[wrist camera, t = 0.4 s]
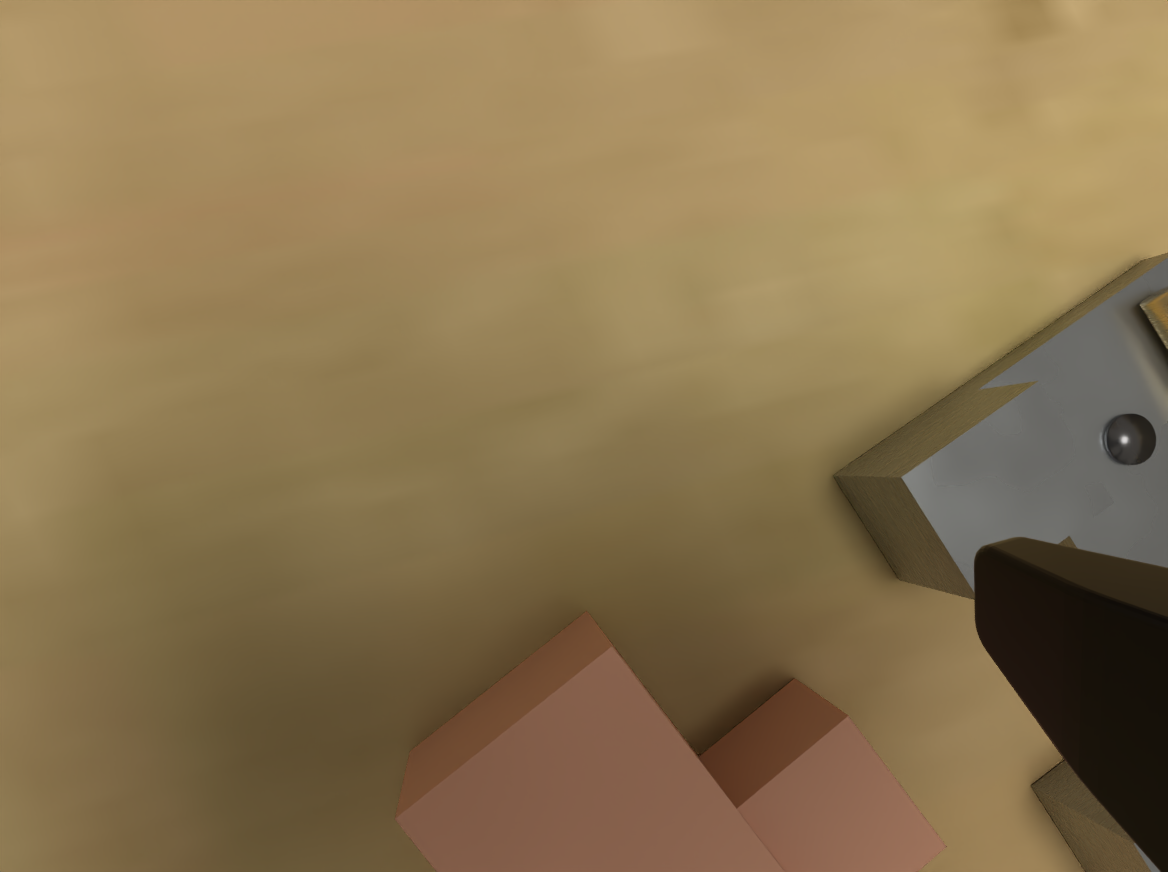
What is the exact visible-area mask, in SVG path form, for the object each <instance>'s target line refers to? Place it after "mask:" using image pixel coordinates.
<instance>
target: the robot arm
mask: <svg viewBox="0 0 1168 872" xmlns="http://www.w3.org/2000/svg"><path fill="white" fill-rule="evenodd" d="M974 599H975V624H976V629H977V633H978V635H979V638H980V640H981V642H982V644H983V646H984V648H985V649H986V651H987V652H988V654H989V655H990V656H991V658H992V659H993V661H994V662H995V663H996V665H997V666H998V668H999V669H1000V670H1001V672H1002V673H1003V674H1004V676H1005V677H1006V679H1007V680H1008V681H1009V683H1010V684H1011V686H1012V687H1013V688H1014V690H1015V691H1016V693H1017V694H1018V695H1019V697H1020V698H1021V700H1022V701H1023V702H1024V704H1025V705H1026V707H1027V708H1028V709H1029V711H1030V712H1031V714H1032V715H1033V716H1034V718H1035V719H1036V721H1037V722H1038V723H1039V725H1040V726H1041V728H1042V729H1043V730H1044V732H1045V733H1046V735H1047V736H1048V737H1049V739H1050V740H1051V742H1052V743H1053V744H1054V746H1055V747H1056V749H1057V750H1058V751H1059V753H1060V754H1061V755H1062V757H1063V758H1064V759H1065V761H1066V762H1067V763H1068V765H1069V766H1070V767H1071V769H1072V770H1073V771H1074V773H1075V774H1076V775H1077V776H1078V778H1079V779H1080V780H1081V781H1082V782H1083V784H1084V785H1085V786H1086V787H1087V788H1088V790H1089V791H1090V792H1091V793H1092V794H1093V796H1094V797H1095V798H1096V799H1097V800H1098V801H1099V803H1100V804H1101V805H1102V806H1103V807H1104V808H1105V809H1106V810H1107V812H1108V813H1109V814H1110V815H1111V816H1112V817H1113V818H1114V820H1115V821H1116V822H1117V823H1118V824H1119V825H1120V826H1121V828H1122V829H1123V830H1124V831H1125V832H1126V833H1127V834H1128V835H1129V837H1130V838H1131V839H1132V840H1133V841H1134V842H1135V843H1136V845H1137V846H1138V847H1139V848H1140V849H1141V850H1142V851H1143V853H1144V854H1145V855H1146V856H1147V857H1148V858H1149V859H1150V860H1151V862H1152V863H1153V864H1154V865H1155V866H1156V867H1157V868H1158V870H1159V871H1160V872H1168V568H1167V567H1162V566H1158V565H1153V564H1148V563H1143V562H1139V561H1134V560H1129V559H1125V558H1120V557H1115V556H1111V555H1106V554H1101V553H1097V552H1092V551H1087V550H1083V549H1078V548H1073V547H1069V546H1064V545H1059V544H1055V543H1050V542H1045V541H1040V540H1036V539H1031V538H1026V537H1013V538H1009V539H1005V540H1002V541H998V542H995V543H991V544H987V545H984V546H982V547H981V548H980V549H979V550H978V551H977V552H976V555H975V558H974Z"/></svg>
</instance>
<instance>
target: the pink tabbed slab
mask: <svg viewBox="0 0 1168 872" xmlns="http://www.w3.org/2000/svg"><path fill="white" fill-rule="evenodd" d="M395 820H396V821H397V822H398V824H399V825H400V826H401V828H402V829H403V830H404V831H405V833H406V834H407V835H408V836H409V838H410V839H411V840H412V841H413V843H414V844H415V845H416V846H417V848H418V849H419V850H420V852H421V853H422V854H423V855H424V857H425V858H426V859H427V860H428V862H429V863H430V864H431V865H432V867H433V868H434V869H435V871H436V872H918V871H919V870H920V869H922V868H923V867H924V866H925V865H926V864H927V863H928V862H930V861H931V860H932V859H933V858H934V857H935V856H937V855H938V854H939V853H940V852H941V851H942V850H944V849H945V848H946V847H947V846H946V845H945V844H944V842H943V841H942V840H941V838H940V837H939V836H938V834H937V833H936V832H935V830H934V829H933V828H932V826H931V825H930V824H929V822H928V821H927V820H926V818H925V817H924V816H923V814H922V813H921V812H920V810H919V809H918V808H917V806H916V805H915V804H914V802H913V801H912V800H911V798H910V797H909V796H908V794H907V793H906V792H905V790H904V789H903V788H902V786H901V785H900V784H899V782H898V781H897V780H896V778H895V777H894V776H893V774H892V773H891V772H890V770H889V769H888V768H887V766H886V765H885V764H884V762H883V761H882V760H881V758H880V757H879V756H878V754H877V753H876V752H875V750H874V749H873V748H872V746H871V745H870V744H869V742H868V741H867V740H866V738H865V737H864V736H863V735H862V733H861V732H860V731H859V729H858V728H857V727H856V725H855V724H854V723H853V721H852V720H851V719H850V717H849V716H848V715H847V714H845V713H844V712H842V711H841V710H840V709H838V708H837V707H835V706H834V705H832V704H831V703H830V702H828V701H827V700H825V699H824V698H822V697H821V696H820V695H818V694H817V693H815V692H814V691H812V690H811V689H810V688H808V687H807V686H805V685H804V684H802V683H801V682H800V681H798V680H797V679H795V678H794V679H793V680H792V681H791V682H789V683H788V684H787V685H786V686H784V687H783V688H782V689H781V690H780V691H778V692H777V693H776V694H775V695H774V696H772V697H771V698H770V699H769V700H767V701H766V702H765V703H764V704H763V705H761V706H760V707H759V708H758V709H756V710H755V711H754V712H753V713H752V714H750V715H749V716H748V717H747V718H745V719H744V720H743V721H742V722H741V723H739V724H738V725H737V726H736V727H735V728H733V729H732V730H731V731H730V732H728V733H727V734H726V735H725V736H724V737H722V738H721V739H720V740H719V741H717V742H716V743H715V744H714V745H713V746H711V747H710V748H709V749H708V750H707V751H705V752H704V753H703V754H702V755H700V756H699V757H698V756H697V754H696V753H695V752H694V750H693V749H692V748H691V746H690V745H689V744H688V743H687V741H686V740H685V739H684V737H683V736H682V735H681V733H680V732H679V731H678V729H677V728H676V727H675V726H674V724H673V723H672V722H671V720H670V719H669V718H668V716H667V715H666V714H665V712H664V711H663V710H662V708H661V707H660V706H659V705H658V703H657V702H656V701H655V699H654V698H653V697H652V695H651V694H650V693H649V691H648V690H647V689H646V688H645V686H644V685H643V684H642V682H641V681H640V680H639V678H638V677H637V676H636V674H635V673H634V672H633V671H632V669H631V668H630V667H629V665H628V664H627V663H626V661H625V660H624V659H623V657H622V656H621V655H620V654H619V652H618V651H617V650H616V648H615V647H614V646H613V644H612V643H611V642H610V640H609V639H608V638H607V637H606V635H605V634H604V633H603V631H602V630H601V629H600V627H599V626H598V625H597V623H596V622H595V621H594V619H593V618H592V617H591V616H590V614H589V613H588V612H587V611H586V612H585V613H583V614H582V615H581V616H580V617H578V618H577V619H576V620H575V621H573V622H572V623H571V624H570V625H568V626H567V627H566V628H565V629H563V630H562V631H561V632H559V633H558V634H557V635H556V636H554V637H553V638H552V639H551V640H549V641H548V642H547V643H546V644H544V645H543V646H542V647H541V648H539V649H538V650H537V651H536V652H534V653H533V654H532V655H531V656H529V657H528V658H527V659H525V660H524V661H523V662H522V663H520V664H519V665H518V666H517V667H515V668H514V669H513V670H512V671H510V672H509V673H508V674H507V675H505V676H504V677H503V678H502V679H500V680H499V681H498V682H497V683H495V684H494V685H493V686H491V687H490V688H489V689H488V690H486V691H485V692H484V693H483V694H481V695H480V696H479V697H478V698H476V699H475V700H474V701H473V702H471V703H470V704H469V705H468V706H466V707H465V708H464V709H463V710H461V711H460V712H459V713H457V714H456V715H455V716H454V717H452V718H451V719H450V720H449V721H447V722H446V723H445V724H444V725H442V726H441V727H440V728H439V729H437V730H436V731H435V732H434V733H432V734H431V735H430V736H429V737H427V738H426V739H425V740H423V741H422V742H421V743H420V744H418V745H417V746H416V747H415V748H413V749H412V750H411V751H410V753H409V757H408V762H407V766H406V771H405V775H404V780H403V784H402V789H401V793H400V798H399V802H398V807H397V811H396V816H395Z"/></svg>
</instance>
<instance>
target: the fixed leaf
mask: <svg viewBox="0 0 1168 872" xmlns="http://www.w3.org/2000/svg"><path fill="white" fill-rule="evenodd" d="M1167 286H1168V253H1165V254H1162V255H1159V256H1155V257H1152V258H1149V259H1145V260H1143V261H1142V262H1140V263H1139V264H1137V265H1136V266H1134V267H1133V268H1131V269H1130V270H1129V271H1127V272H1126V273H1124V274H1123V275H1121V276H1120V277H1118V278H1117V279H1116V280H1114V281H1113V282H1111V283H1110V284H1108V285H1107V286H1105V287H1104V288H1103V289H1101V290H1100V291H1098V292H1097V293H1095V294H1094V295H1092V296H1091V297H1090V298H1088V299H1087V300H1085V301H1084V302H1082V303H1081V304H1080V305H1078V306H1077V307H1075V308H1074V309H1072V310H1071V311H1069V312H1068V313H1067V314H1065V315H1064V316H1062V317H1061V318H1059V319H1058V320H1056V321H1055V322H1054V323H1052V324H1051V325H1049V326H1048V327H1046V328H1045V329H1043V330H1042V331H1041V332H1039V333H1038V334H1036V335H1035V336H1033V337H1032V338H1030V339H1029V340H1028V341H1026V342H1025V343H1023V344H1022V345H1020V346H1019V347H1017V348H1016V349H1015V350H1013V351H1012V352H1010V353H1009V354H1007V355H1006V356H1005V357H1003V358H1002V359H1000V360H999V361H997V362H996V363H994V364H993V365H992V366H990V367H989V368H987V369H986V370H984V371H983V372H981V373H980V374H979V375H977V376H976V377H974V378H973V379H971V380H970V381H968V382H967V383H966V384H964V385H963V386H961V387H960V388H958V389H957V390H955V391H954V392H953V393H951V394H950V395H948V396H947V397H945V398H944V399H942V400H941V401H940V402H938V403H937V404H935V405H934V406H932V407H931V408H930V409H928V410H927V411H925V412H924V413H922V414H921V415H919V416H918V417H917V418H915V419H914V420H912V421H911V422H909V423H908V424H906V425H905V426H904V427H902V428H901V429H899V430H898V431H896V432H895V433H893V434H892V435H891V436H889V437H888V438H886V439H885V440H883V441H882V442H880V443H879V444H878V445H876V446H875V447H873V448H872V449H870V450H869V451H867V452H866V453H865V454H863V455H862V456H860V457H859V458H857V459H856V460H855V461H853V462H852V463H850V464H849V465H847V466H846V467H844V468H843V469H842V470H840V471H839V472H837V473H836V474H834V475H833V476H834V478H835V479H836V481H837V483H838V484H839V486H840V487H841V489H842V490H843V492H844V494H845V495H846V497H847V498H848V500H849V501H850V503H851V505H852V506H853V508H854V509H855V511H856V512H857V514H858V515H859V517H860V519H861V520H862V522H863V523H864V525H865V526H866V528H867V530H868V531H869V533H870V534H871V536H872V537H873V539H874V541H875V542H876V544H877V545H878V547H879V548H880V550H881V552H882V553H883V555H884V556H885V558H886V559H887V561H888V562H889V564H890V566H891V567H892V569H893V570H894V572H895V573H896V575H897V577H898V578H899V580H901V581H905V582H908V583H912V584H916V585H920V586H924V587H927V588H931V589H935V590H939V591H943V592H947V593H950V594H954V595H958V596H962V597H966V598H969V599H973V600H975V599H974V558H975V555H976V552H977V551H978V550H979V549H980V548H981V547H982V546H984V545H987V544H991V543H995V542H998V541H1002V540H1005V539H1009V538H1013V537H1026V538H1031V539H1036V540H1040V541H1045V542H1050V543H1055V544H1059V545H1064V546H1069V547H1073V548H1078V549H1083V550H1087V551H1092V552H1097V553H1101V554H1106V555H1111V556H1115V557H1120V558H1125V559H1129V560H1134V561H1139V562H1143V563H1148V564H1153V565H1158V566H1162V567H1167V568H1168V350H1167V349H1166V347H1165V345H1164V344H1163V342H1162V341H1161V339H1160V337H1159V336H1158V334H1157V332H1156V331H1155V329H1154V328H1153V326H1152V324H1151V323H1150V321H1149V319H1148V318H1147V316H1146V314H1145V313H1144V311H1143V310H1142V308H1141V306H1140V303H1141V302H1142V301H1143V300H1144V299H1146V298H1147V297H1149V296H1150V295H1152V294H1153V293H1155V292H1157V291H1159V290H1161V289H1163V288H1165V287H1167ZM1031 787H1032V788H1033V790H1034V791H1035V793H1036V794H1037V796H1038V798H1039V799H1040V801H1041V802H1042V804H1043V805H1044V807H1045V808H1046V810H1047V812H1048V813H1049V815H1050V816H1051V818H1052V819H1053V821H1054V823H1055V824H1056V826H1057V827H1058V829H1059V830H1060V832H1061V834H1062V835H1063V837H1064V838H1065V840H1066V841H1067V843H1068V845H1069V846H1070V848H1071V849H1072V851H1073V852H1074V854H1075V855H1076V857H1077V859H1078V860H1079V862H1080V863H1081V865H1082V866H1083V868H1084V870H1085V871H1086V872H1160V871H1159V870H1158V868H1157V867H1156V866H1155V865H1154V864H1153V863H1152V862H1151V860H1150V859H1149V858H1148V857H1147V856H1146V855H1145V854H1144V853H1143V851H1142V850H1141V849H1140V848H1139V847H1138V846H1137V845H1136V843H1135V842H1134V841H1133V840H1132V839H1131V838H1130V837H1129V835H1128V834H1127V833H1126V832H1125V831H1124V830H1123V829H1122V828H1121V826H1120V825H1119V824H1118V823H1117V822H1116V821H1115V820H1114V818H1113V817H1112V816H1111V815H1110V814H1109V813H1108V812H1107V810H1106V809H1105V808H1104V807H1103V806H1102V805H1101V804H1100V803H1099V801H1098V800H1097V799H1096V798H1095V797H1094V796H1093V794H1092V793H1091V792H1090V791H1089V790H1088V788H1087V787H1086V786H1085V785H1084V784H1083V782H1082V781H1081V780H1080V779H1079V778H1078V776H1077V775H1076V774H1075V773H1074V771H1073V770H1072V769H1071V767H1070V766H1069V765H1068V763H1067V762H1066V761H1065V760H1064V761H1063V762H1062V763H1060V764H1059V765H1058V766H1056V767H1055V768H1054V769H1053V770H1051V771H1050V772H1049V773H1047V774H1046V775H1045V776H1044V777H1042V778H1041V779H1040V780H1038V781H1037V782H1036V783H1034V784H1033V785H1032V786H1031Z"/></svg>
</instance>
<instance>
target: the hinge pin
mask: <svg viewBox="0 0 1168 872" xmlns="http://www.w3.org/2000/svg"><path fill="white" fill-rule="evenodd" d="M1140 306H1141V308H1142V310H1143V311H1144V313H1145V314H1146V316H1147V318H1148V319H1149V321H1150V323H1151V324H1152V326H1153V328H1154V329H1155V331H1156V332H1157V334H1158V336H1159V337H1160V339H1161V341H1162V342H1163V344H1164V345H1165V347H1166V349H1167V350H1168V286H1167V287H1165V288H1163V289H1161V290H1159V291H1157V292H1155V293H1153V294H1152V295H1150V296H1149V297H1147V298H1146V299H1144V300H1143V301H1142V302H1141V303H1140Z"/></svg>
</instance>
